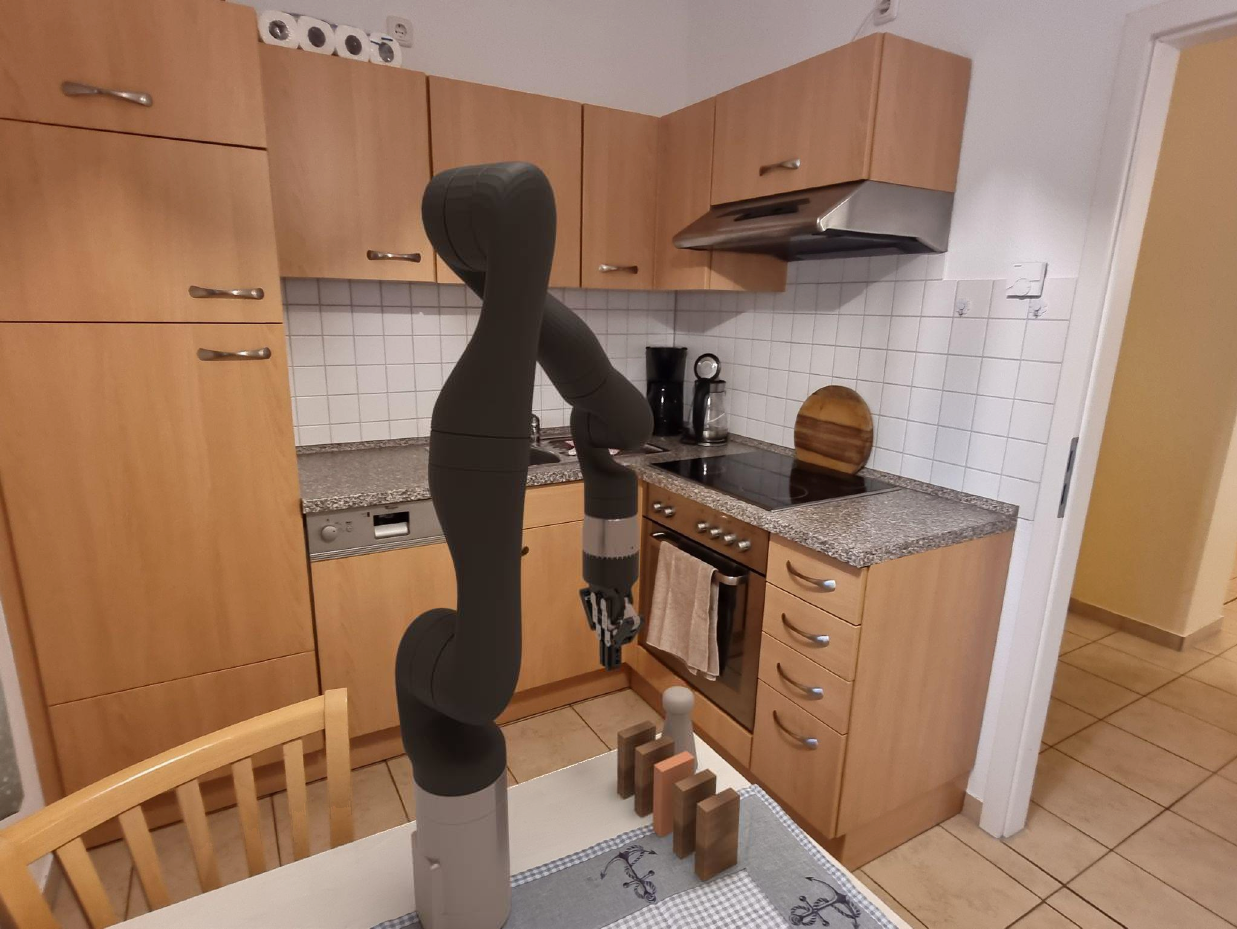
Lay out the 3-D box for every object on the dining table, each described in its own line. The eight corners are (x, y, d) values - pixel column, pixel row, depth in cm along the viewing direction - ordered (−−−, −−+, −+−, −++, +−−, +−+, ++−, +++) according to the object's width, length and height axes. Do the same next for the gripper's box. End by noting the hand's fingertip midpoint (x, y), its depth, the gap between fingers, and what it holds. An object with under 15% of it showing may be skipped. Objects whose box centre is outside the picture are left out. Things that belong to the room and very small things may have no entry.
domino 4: (681, 859, 80) (683, 791, 78) (672, 850, 82) (674, 783, 80) (713, 841, 83) (716, 775, 81) (705, 833, 84) (707, 768, 82)
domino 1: (623, 799, 90) (624, 738, 88) (617, 792, 91) (617, 732, 89) (654, 786, 93) (655, 725, 91) (647, 779, 94) (648, 720, 92)
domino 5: (703, 882, 77) (706, 812, 75) (694, 872, 78) (696, 803, 76) (736, 863, 80) (740, 795, 78) (727, 854, 81) (730, 787, 79)
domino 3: (660, 837, 84) (662, 771, 82) (652, 829, 85) (654, 764, 83) (692, 821, 86) (694, 757, 84) (684, 813, 88) (686, 750, 86)
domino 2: (641, 818, 87) (642, 754, 85) (634, 810, 88) (635, 747, 86) (673, 803, 89) (674, 741, 88) (665, 796, 91) (667, 735, 89)
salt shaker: (647, 770, 96) (649, 685, 93) (683, 759, 98) (686, 676, 95) (668, 796, 91) (670, 707, 88) (705, 784, 93) (708, 697, 90)
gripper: (664, 554, 87) (661, 679, 91) (607, 527, 98) (606, 640, 102) (614, 566, 83) (614, 696, 87) (561, 536, 94) (562, 653, 98)
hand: (610, 665), depth 94 cm, fingers closed
